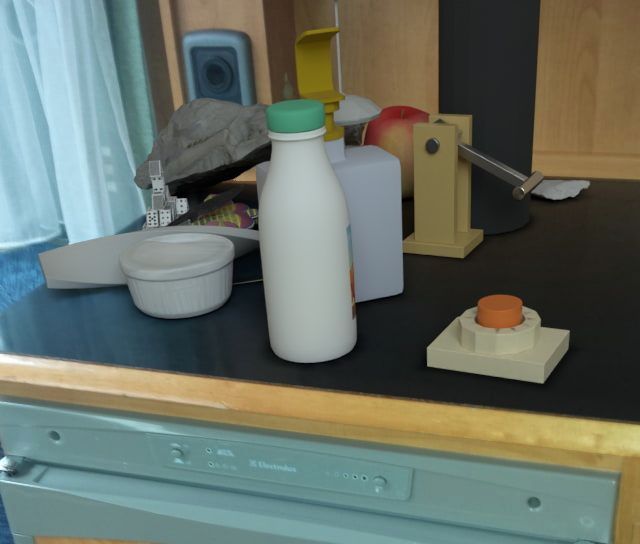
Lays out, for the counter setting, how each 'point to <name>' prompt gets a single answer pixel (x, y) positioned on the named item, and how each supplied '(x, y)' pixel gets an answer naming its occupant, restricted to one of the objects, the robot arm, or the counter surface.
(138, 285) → the ramekin
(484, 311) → the button
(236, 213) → the decorative ornament
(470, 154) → the lever
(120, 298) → the counter surface
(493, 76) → the vase
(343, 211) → the milk bottle
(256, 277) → the knife
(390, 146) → the apple
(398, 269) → the soap bottle
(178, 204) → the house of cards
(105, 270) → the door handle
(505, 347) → the button block
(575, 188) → the stone
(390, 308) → the counter surface
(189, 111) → the stone
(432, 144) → the bracket
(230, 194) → the machete
